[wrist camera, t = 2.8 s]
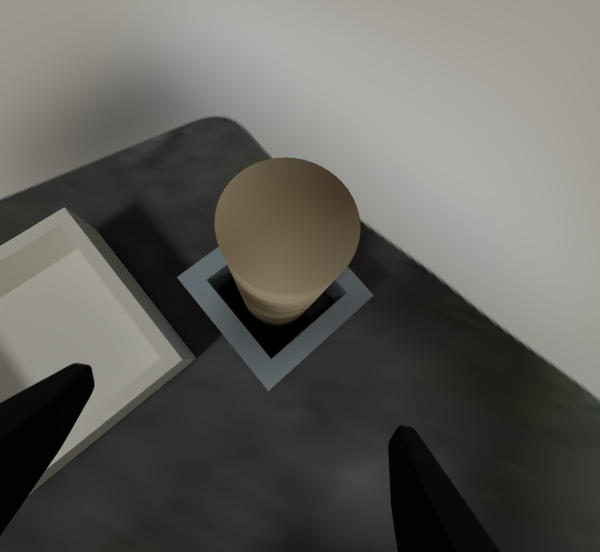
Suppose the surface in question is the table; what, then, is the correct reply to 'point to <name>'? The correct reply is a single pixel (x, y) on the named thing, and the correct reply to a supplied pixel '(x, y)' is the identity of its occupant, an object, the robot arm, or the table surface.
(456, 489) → the robot arm
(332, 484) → the table surface
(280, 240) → the birch dowel
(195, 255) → the table surface
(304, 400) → the table surface
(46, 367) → the tray
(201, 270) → the socket block
